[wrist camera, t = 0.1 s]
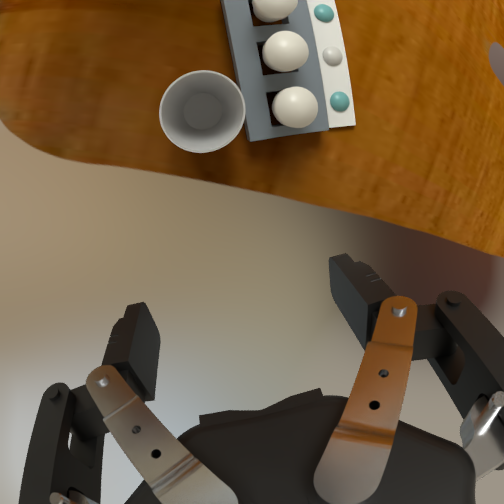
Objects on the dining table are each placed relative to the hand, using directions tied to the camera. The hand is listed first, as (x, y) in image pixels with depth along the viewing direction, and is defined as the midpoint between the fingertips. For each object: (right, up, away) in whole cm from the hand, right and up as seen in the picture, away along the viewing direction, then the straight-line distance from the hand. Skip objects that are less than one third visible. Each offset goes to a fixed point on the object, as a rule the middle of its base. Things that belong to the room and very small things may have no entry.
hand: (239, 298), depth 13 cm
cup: (-6, +19, +23) cm, 30 cm away
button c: (+5, +19, +21) cm, 29 cm away
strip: (+11, +28, +21) cm, 36 cm away
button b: (+3, +25, +18) cm, 31 cm away
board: (+3, +26, +20) cm, 33 cm away
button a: (+2, +30, +15) cm, 34 cm away
